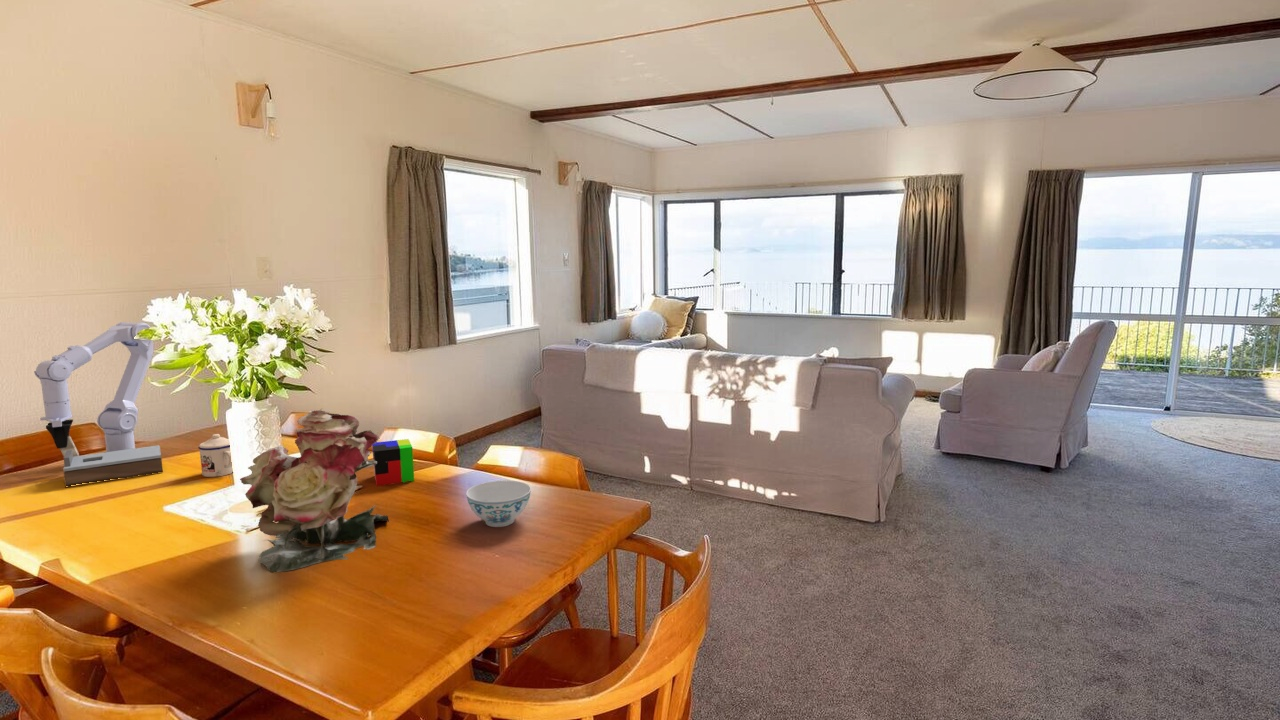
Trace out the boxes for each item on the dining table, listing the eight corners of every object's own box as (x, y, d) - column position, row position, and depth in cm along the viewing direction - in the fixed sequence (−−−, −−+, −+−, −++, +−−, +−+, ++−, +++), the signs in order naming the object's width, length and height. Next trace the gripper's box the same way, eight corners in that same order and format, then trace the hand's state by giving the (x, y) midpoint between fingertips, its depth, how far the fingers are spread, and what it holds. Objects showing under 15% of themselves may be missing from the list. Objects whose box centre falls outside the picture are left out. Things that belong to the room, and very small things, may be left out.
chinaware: (517, 536, 149) (516, 503, 148) (456, 531, 152) (454, 499, 151) (540, 512, 163) (539, 482, 162) (484, 508, 166) (482, 478, 165)
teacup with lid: (194, 474, 195) (190, 436, 193) (226, 466, 202) (223, 429, 201) (217, 481, 189) (213, 441, 187) (249, 472, 196) (246, 434, 195)
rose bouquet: (253, 534, 151) (242, 405, 147) (390, 516, 161) (383, 395, 157) (230, 583, 127) (215, 431, 123) (391, 559, 138) (383, 418, 133)
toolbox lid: (67, 460, 194) (66, 449, 194) (159, 447, 207) (158, 437, 207) (63, 471, 183) (61, 460, 182) (161, 457, 196) (160, 446, 196)
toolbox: (69, 475, 195) (67, 461, 194) (161, 461, 208) (160, 448, 207) (65, 487, 184) (63, 472, 183) (162, 472, 197) (161, 458, 196)
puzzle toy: (374, 476, 193) (372, 442, 191) (410, 471, 197) (408, 438, 195) (376, 486, 184) (374, 451, 182) (414, 481, 188) (412, 447, 186)
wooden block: (66, 458, 197) (57, 439, 196) (79, 453, 199) (70, 435, 197) (65, 460, 195) (56, 442, 193) (78, 456, 196) (69, 437, 195)
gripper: (41, 399, 197) (47, 443, 199) (35, 407, 185) (41, 454, 187) (72, 396, 201) (77, 439, 203) (68, 403, 189) (74, 449, 191)
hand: (62, 446), depth 195 cm, fingers closed on wooden block, 3 cm apart
